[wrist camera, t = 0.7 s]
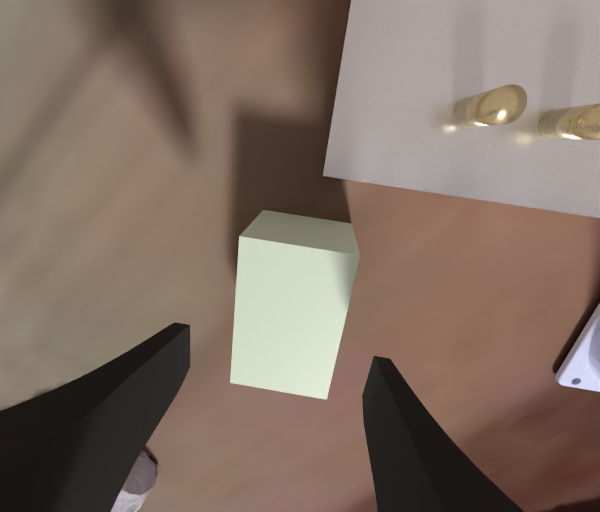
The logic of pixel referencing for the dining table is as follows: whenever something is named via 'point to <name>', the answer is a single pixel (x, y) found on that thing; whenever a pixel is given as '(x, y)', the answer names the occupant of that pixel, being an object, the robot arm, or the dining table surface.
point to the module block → (291, 302)
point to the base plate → (472, 100)
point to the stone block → (136, 485)
